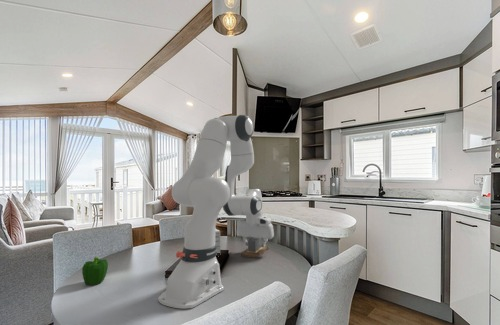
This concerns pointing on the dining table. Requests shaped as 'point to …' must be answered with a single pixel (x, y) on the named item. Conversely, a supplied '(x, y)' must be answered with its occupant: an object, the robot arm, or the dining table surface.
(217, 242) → the supplement box
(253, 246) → the block
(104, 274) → the bell pepper
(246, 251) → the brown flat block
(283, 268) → the dining table surface
